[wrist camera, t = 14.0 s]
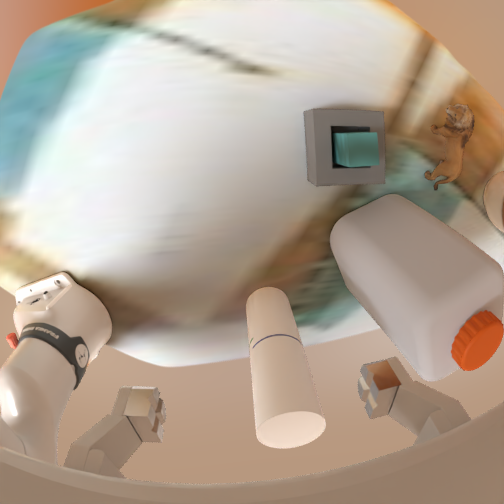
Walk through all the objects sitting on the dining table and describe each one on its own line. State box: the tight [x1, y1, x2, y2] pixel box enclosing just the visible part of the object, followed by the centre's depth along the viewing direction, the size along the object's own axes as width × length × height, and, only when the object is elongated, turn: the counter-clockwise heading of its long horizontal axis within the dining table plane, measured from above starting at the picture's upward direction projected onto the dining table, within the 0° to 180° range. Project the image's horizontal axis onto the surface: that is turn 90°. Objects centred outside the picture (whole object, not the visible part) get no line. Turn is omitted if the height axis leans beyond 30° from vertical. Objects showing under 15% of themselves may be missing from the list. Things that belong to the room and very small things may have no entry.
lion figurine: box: [425, 104, 474, 190], centre depth 37 cm, size 15×5×9 cm, turn 3°
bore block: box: [304, 109, 385, 186], centre depth 38 cm, size 10×10×5 cm
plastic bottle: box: [330, 194, 504, 381], centre depth 34 cm, size 15×15×28 cm
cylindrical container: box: [246, 287, 326, 448], centre depth 38 cm, size 7×7×25 cm
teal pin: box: [331, 132, 380, 167], centre depth 36 cm, size 4×4×8 cm
